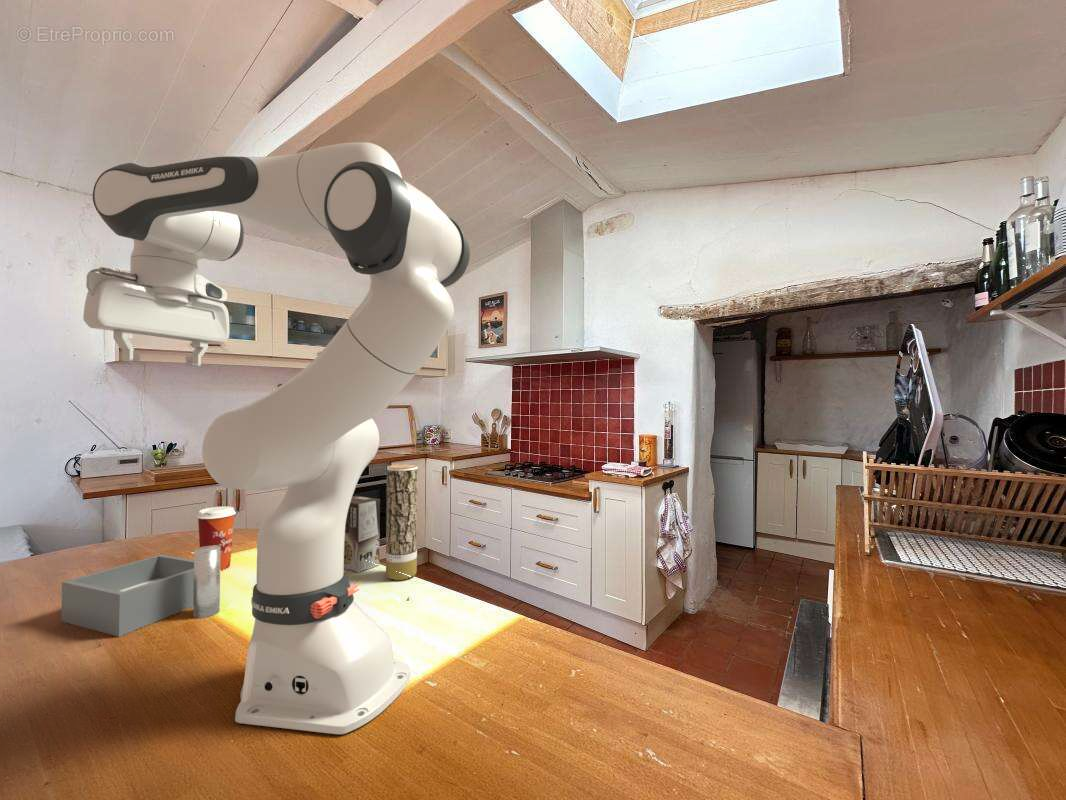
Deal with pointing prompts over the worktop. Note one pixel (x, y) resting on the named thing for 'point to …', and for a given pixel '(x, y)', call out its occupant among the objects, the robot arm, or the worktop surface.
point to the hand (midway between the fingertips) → (164, 364)
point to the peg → (206, 581)
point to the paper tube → (401, 521)
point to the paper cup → (217, 530)
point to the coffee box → (362, 534)
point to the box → (129, 595)
